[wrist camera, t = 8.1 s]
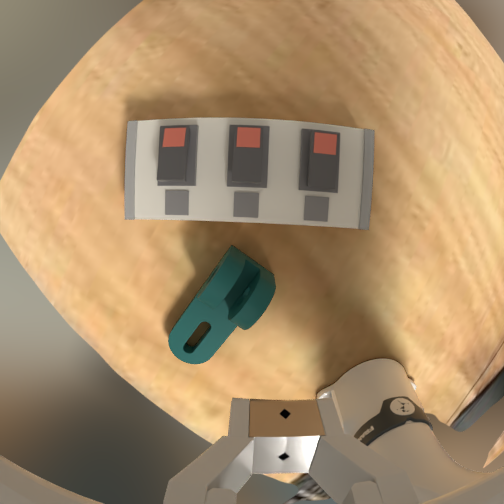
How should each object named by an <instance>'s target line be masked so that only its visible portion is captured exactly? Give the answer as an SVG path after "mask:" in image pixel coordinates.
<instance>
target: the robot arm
mask: <svg viewBox="0 0 504 504" xmlns="http://www.w3.org/2000/svg"><path fill="white" fill-rule="evenodd" d="M415 390H416V385H415V383H414V381H412V380H411V379H409V378H408V377H407V374H406V372H405V369H404V368H403V366H402V365H401V364H400V363H398V362H397V361H394V360H391V359H374V360H370V361H366V362H364V363H361V364H359V365H357V366H355V367H354V368H352V369H350V370H349V371H348V372H346V373H345V374H344V375H343V376H342V377H341V378H340V379H339V380H338V381H337V382H335V383H334V384H333V385H331V386H329V387H327V388H325V389H323V390H321V391H320V392H319V393H318V394H317V399H307V400H265V399H250V401H249V399H242V398H232V401H231V411H230V421H229V431H228V436H222V437H221V438H220V439H219V440H218V441H217V442H215V443H214V444H213V445H212V446H211V447H210V448H208V449H207V450H206V451H205V452H204V453H203V454H202V455H200V456H199V457H198V458H197V459H196V460H194V461H193V462H192V463H191V464H190V465H188V466H187V467H186V468H184V469H183V470H182V471H181V472H179V473H178V474H177V475H176V476H174V477H173V478H172V479H170V480H169V483H168V487H167V490H166V494H165V498H164V502H163V504H236V494H237V492H238V491H239V490H240V489H241V488H242V486H243V485H244V484H245V483H246V481H247V480H248V479H249V478H250V476H251V474H269V473H309V475H310V476H311V477H312V478H313V479H314V480H315V481H316V482H317V483H318V484H319V485H320V486H321V487H322V489H323V490H324V491H325V492H326V493H327V494H328V495H329V496H330V497H331V498H332V499H333V500H334V501H335V502H336V503H337V504H504V466H503V467H501V468H499V469H498V470H496V471H494V472H489V473H488V472H477V471H473V470H469V469H466V468H464V467H462V466H461V465H459V464H458V463H456V462H455V461H454V460H453V459H452V458H451V457H450V456H449V455H448V453H447V452H446V451H445V450H444V448H443V447H442V445H441V444H440V443H439V441H438V440H437V438H436V437H435V435H434V434H433V432H432V430H433V429H432V425H431V423H430V420H429V418H428V416H426V414H425V413H424V408H423V406H422V404H421V402H420V400H419V398H418V396H417V394H416V392H415ZM249 403H250V404H249ZM0 504H103V503H100V502H97V501H94V500H91V499H89V498H86V497H83V496H80V495H78V494H76V493H73V492H71V491H68V490H66V489H64V488H61V487H59V486H57V485H54V484H52V483H50V482H48V481H46V480H44V479H42V478H40V477H38V476H36V475H34V474H32V473H30V472H28V471H26V470H25V469H23V468H21V467H19V466H17V465H16V464H14V463H12V462H11V461H9V460H7V459H5V458H4V457H2V456H1V455H0Z"/></svg>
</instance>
